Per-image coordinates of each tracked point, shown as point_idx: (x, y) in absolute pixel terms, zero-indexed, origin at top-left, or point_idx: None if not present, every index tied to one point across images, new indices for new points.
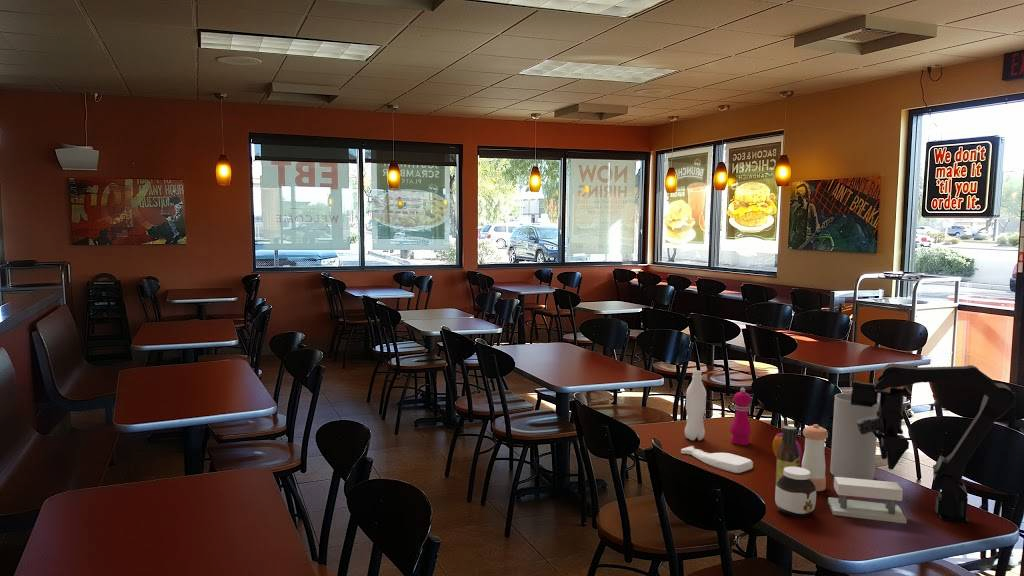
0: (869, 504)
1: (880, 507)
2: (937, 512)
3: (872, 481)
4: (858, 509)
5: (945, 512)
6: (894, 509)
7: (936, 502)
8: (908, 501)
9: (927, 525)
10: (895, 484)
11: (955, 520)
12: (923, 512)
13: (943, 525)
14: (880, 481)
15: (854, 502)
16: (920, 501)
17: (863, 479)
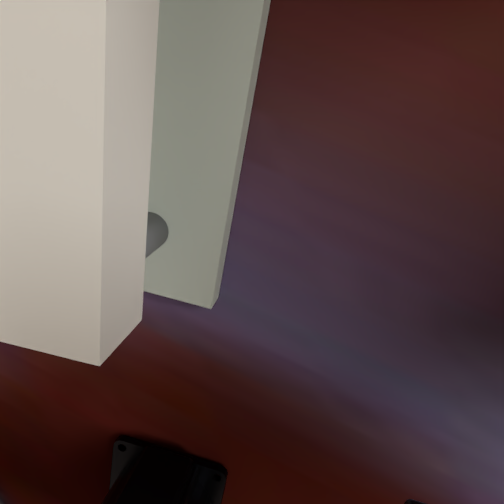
0: (190, 127)
1: (151, 182)
2: (150, 451)
3: (62, 146)
4: None
5: (124, 477)
6: None
7: (160, 494)
8: (353, 413)
9: None
10: (39, 329)
11: (111, 478)
12: (200, 404)
13: (58, 404)
14: (84, 231)
15: (211, 22)
16: (357, 471)
17: (97, 62)
